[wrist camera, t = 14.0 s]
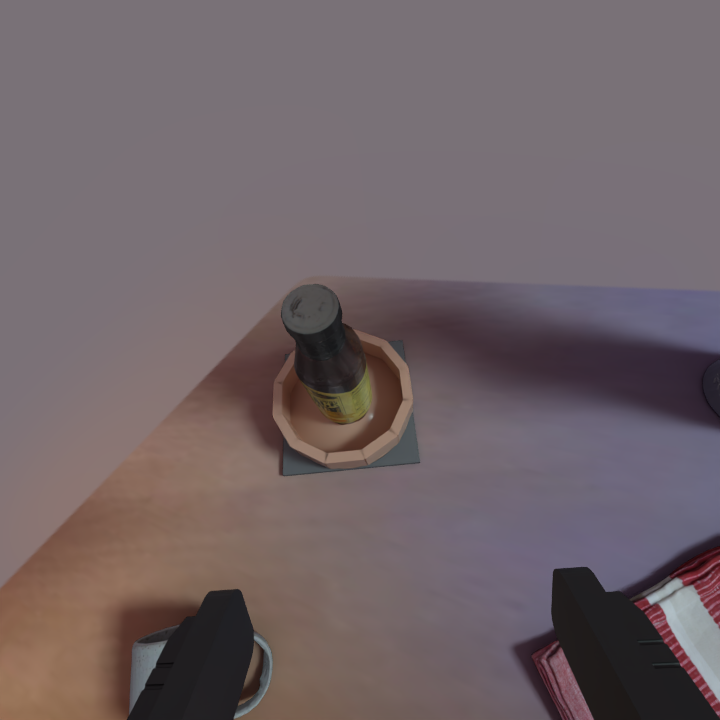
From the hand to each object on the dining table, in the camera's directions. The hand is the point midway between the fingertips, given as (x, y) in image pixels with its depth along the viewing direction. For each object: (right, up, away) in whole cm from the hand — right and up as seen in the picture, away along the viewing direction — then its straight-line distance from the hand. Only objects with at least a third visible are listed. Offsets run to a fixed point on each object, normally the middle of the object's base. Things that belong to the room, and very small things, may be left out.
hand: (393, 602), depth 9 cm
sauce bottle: (-2, +1, +33) cm, 33 cm away
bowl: (-2, +1, +34) cm, 34 cm away
